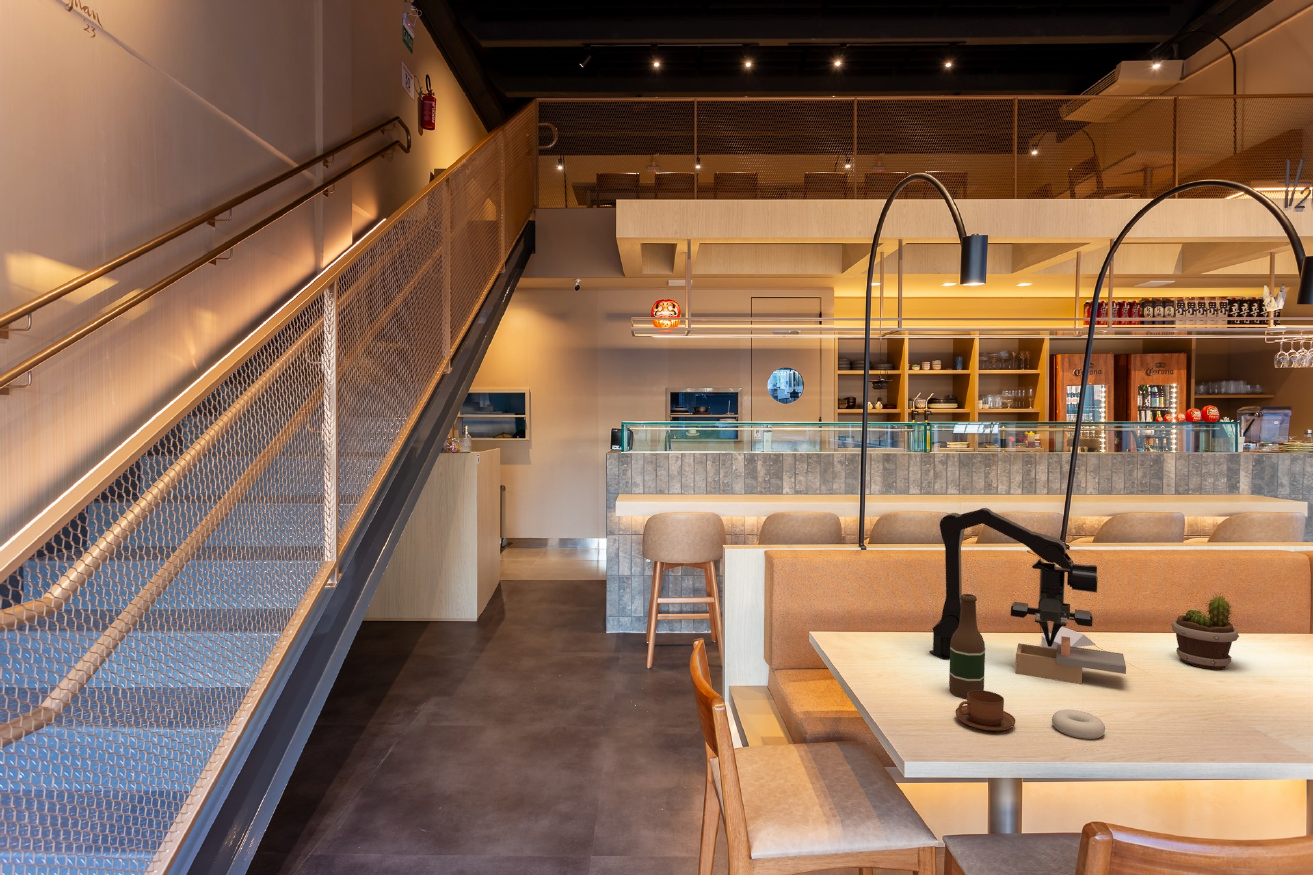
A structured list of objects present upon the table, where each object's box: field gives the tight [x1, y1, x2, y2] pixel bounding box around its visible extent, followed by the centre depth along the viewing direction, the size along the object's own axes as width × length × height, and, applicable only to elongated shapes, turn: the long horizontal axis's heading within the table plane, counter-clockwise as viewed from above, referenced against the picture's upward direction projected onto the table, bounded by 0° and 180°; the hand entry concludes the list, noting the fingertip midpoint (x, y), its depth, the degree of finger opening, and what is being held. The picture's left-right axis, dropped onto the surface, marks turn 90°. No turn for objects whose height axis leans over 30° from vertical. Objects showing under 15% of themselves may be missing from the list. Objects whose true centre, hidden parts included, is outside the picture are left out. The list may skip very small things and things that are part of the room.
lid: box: [1056, 636, 1127, 675], centre depth 191 cm, size 15×12×5 cm
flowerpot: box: [1170, 592, 1240, 670], centre depth 204 cm, size 14×15×20 cm
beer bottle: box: [948, 593, 986, 700], centre depth 180 cm, size 8×8×24 cm
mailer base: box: [1015, 642, 1083, 685], centre depth 196 cm, size 15×10×5 cm, turn 61°
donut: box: [1051, 709, 1106, 740], centre depth 160 cm, size 10×4×10 cm
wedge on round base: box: [1041, 626, 1097, 649], centre depth 215 cm, size 9×7×13 cm
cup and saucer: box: [955, 690, 1016, 732], centre depth 163 cm, size 12×12×6 cm
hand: (1049, 646), depth 196 cm, fingers closed
